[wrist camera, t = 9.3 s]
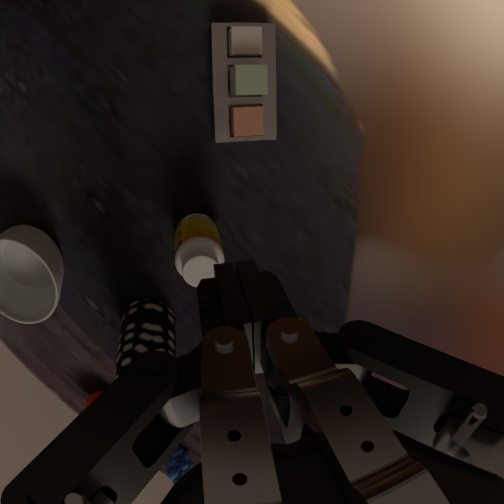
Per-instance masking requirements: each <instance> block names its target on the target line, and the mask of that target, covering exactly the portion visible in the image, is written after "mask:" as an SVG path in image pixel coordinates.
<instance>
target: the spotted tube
mask: <svg viewBox="0 0 504 504" xmlns="http://www.w3.org/2000/svg"><path fill="white" fill-rule="evenodd" d="M151 351H164V352H168V353H170V354H172V355H173V356H174V357H175V358H177V355H176V329H175V317H174V314H173V312H172V311H171V310H170V309H169V307H167V306H166V305H165V304H163V303H161V302H159V301H155V300H149V299H145V300H138V301H136V302H133V303H132V304H130V305H129V306H128V307H127V308H126V310H125V311H124V314H123V319H122V325H121V331H120V337H119V343H118V350H117V357H116V364H115V372H114V380H115V379H116V378H117V377H118V376H120V375H121V374H122V373H123V372H124V371H125V370H126V369H127V368H128V367H129V366H130V365H131V364H132V363H133V362H134V361H135V360H136V359H137V358H138V357H140V356H141V355H143V354H145V353H148V352H151ZM114 380H113V381H114Z"/></svg>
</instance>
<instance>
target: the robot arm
mask: <svg viewBox="0 0 504 504" xmlns="http://www.w3.org/2000/svg"><path fill="white" fill-rule="evenodd" d="M213 266H214V278H205V279H201V281H200V282H199V284H198V286H197V296H198V305H199V313H200V322H201V330H202V339H201V342H200V343H199V345H198V346H197V347H196V348H195V349H194V350H193V351H191V352H189V353H187V354H185V355H182V356H180V357H177V358H175V357H174V356H173V355H172V354H170V353H168V352H164V351H151V352H148V353H145V354H143V355H141V356H140V357H138V358H137V359H136V360H135V361H134V362H133V363H132V364H131V365H130V366H129V367H128V368H127V369H126V370H125V371H124V372H123V373H122V374H121V375H120V376H118V377H117V378H116V379H115V380H114V381H113V382H112V383H111V384H110V385H109V386H108V387H107V388H106V389H105V390H104V391H103V392H102V393H101V394H100V395H99V396H98V397H97V398H96V399H95V400H94V401H93V402H92V403H91V404H90V405H89V406H88V407H87V408H86V409H85V410H84V411H83V412H82V413H80V414H79V415H78V416H77V417H76V418H75V419H74V420H73V421H72V422H71V423H70V424H69V425H68V426H67V427H66V428H65V429H64V430H63V431H62V432H61V433H60V434H59V435H58V436H57V437H56V438H55V439H54V440H53V441H52V442H51V443H50V444H49V445H48V446H47V447H46V448H45V449H44V450H43V451H42V452H41V453H40V454H39V455H38V456H37V457H36V458H34V460H33V461H31V462H30V463H29V464H28V465H27V466H26V467H25V468H24V469H23V470H22V471H21V472H20V473H19V474H18V475H17V476H16V477H15V478H14V479H13V480H12V481H11V482H10V483H9V484H8V485H7V486H6V487H5V489H4V490H3V493H2V496H1V504H131V503H132V502H133V501H134V499H135V498H136V497H137V495H139V493H140V492H141V491H142V490H143V489H144V487H145V486H146V485H147V484H148V483H149V481H150V480H151V479H152V478H153V476H154V475H155V474H156V473H157V472H158V470H159V469H160V468H161V467H162V465H163V464H164V463H165V462H166V460H167V459H168V458H169V457H170V455H171V454H172V453H173V452H174V450H175V449H176V448H177V447H178V445H179V444H180V443H181V441H182V440H183V439H184V438H185V436H186V435H187V434H188V432H189V431H190V430H191V428H192V427H193V424H194V422H196V421H199V420H200V437H201V457H202V463H200V464H198V465H196V466H194V467H193V468H191V469H190V470H188V471H187V472H186V473H185V474H183V475H182V476H181V477H180V478H179V480H178V481H177V482H176V483H175V484H174V486H173V487H172V488H171V490H170V491H169V493H168V494H167V495H166V497H165V498H164V500H163V501H162V502H161V504H504V479H503V478H502V477H501V476H502V472H503V469H504V376H501V375H499V374H496V373H494V372H491V371H489V370H486V369H484V368H481V367H478V366H476V365H473V364H470V363H468V362H466V361H463V360H461V359H458V358H455V357H453V356H451V355H448V354H446V353H443V352H440V351H438V350H436V349H433V348H431V347H428V346H426V345H423V344H421V343H418V342H416V341H414V340H411V339H409V338H406V337H404V336H401V335H399V334H396V333H394V332H392V331H389V330H387V329H384V328H382V327H380V326H377V325H374V324H372V323H369V322H367V321H362V320H355V321H350V322H347V323H345V324H344V325H343V326H342V327H341V328H340V331H339V333H327V332H318V331H314V330H312V328H311V327H310V326H309V324H307V323H306V322H305V321H303V320H301V319H298V317H297V315H296V313H295V311H294V309H293V307H292V305H291V303H290V301H289V299H288V297H287V295H286V294H285V291H284V289H283V287H282V285H281V283H280V281H279V279H278V277H277V276H275V275H274V274H272V273H271V272H270V271H261V272H258V269H257V267H256V265H255V262H254V260H244V261H236V262H234V264H233V262H228V263H220V264H214V265H213ZM253 368H254V369H253ZM254 371H255V374H256V373H262V372H263V373H264V377H265V390H266V393H267V395H268V398H269V400H270V403H271V405H272V407H273V410H274V412H275V415H276V417H277V419H278V422H279V424H280V426H281V429H282V431H283V434H284V437H285V442H286V444H270V440H269V435H268V430H267V425H266V420H265V414H264V409H263V404H262V399H261V394H260V391H259V390H257V386H256V380H255V375H254ZM372 372H374V373H377V374H379V375H381V376H383V377H386V378H388V379H390V380H392V381H395V382H397V383H399V384H401V385H404V386H405V387H407V389H408V390H403V389H400V388H398V387H395V386H393V385H391V384H389V383H387V382H384V381H382V380H380V379H378V378H376V377H373V376H371V374H372ZM425 444H426V445H425ZM427 445H428V446H427ZM430 446H431V447H430ZM432 447H433V448H432Z"/></svg>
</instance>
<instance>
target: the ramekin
mask: <svg viewBox="0 0 504 504" xmlns="http://www.w3.org/2000/svg"><path fill="white" fill-rule="evenodd" d="M63 276H64V264H63V259H62V257H61V253H60V251H59V249H58V247H57V245H56V244H55V243H54V241H53V240H52V239H51V238H50V237H49V236H48V235H47V234H46V233H44V232H43V231H42V230H40V229H38V228H36V227H33V226H29V225H18V226H14V227H11V228H9V229H7V230H6V231H4V232H3V233H1V234H0V313H1V314H2V315H4V316H6V317H7V318H9V319H11V320H14V321H16V322H20V323H25V324H33V323H38V322H41V321H44V320H45V319H47V318H48V317H49V316H50V315H51V314H52V313H53V312H54V310H55V308H56V306H57V304H58V302H59V298H60V289H61V285H62V281H63Z"/></svg>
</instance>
